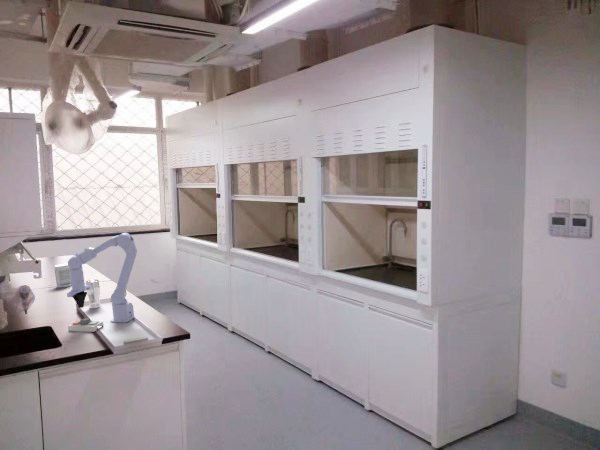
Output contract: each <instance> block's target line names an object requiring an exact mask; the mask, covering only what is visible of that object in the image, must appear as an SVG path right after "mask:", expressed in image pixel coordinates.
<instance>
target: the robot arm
mask: <svg viewBox="0 0 600 450" xmlns="http://www.w3.org/2000/svg"><path fill="white" fill-rule="evenodd" d="M118 246H119V247H120V248H121V249H123V251H124V252H125V254H126V255H125V258H124V262H123V265H122V268H121V271H120V274H119V278H118V280H117V284H116V286H115V289H114V290H113V293H112V294H111V296H110V300H111V307H112V316H113V317H112V318H113V319H111V320H110V321H109V322H110V323H112V322H113V323H127V322H130V321H131V320H133V319H135V318H136V316H135V313H134V312H135V311H134V305H133V303H132V302H128V299H127V298H126V296H127V287H128V283H129V279H130V276H131V273H132V269H133V266H134V265H135V264H134V263H135V260H136V256H137V254H138V250H137V246H136V244H135V240H134V237H133V236H132V235H131V234H130V233H128V232H122V233H120V234H118V235H115V236H113V237H110V238H109V239H107V240H105V241H103V242H102V243H101V244H99V245H97V246H95V247H85V248H84V250H83V251H81V252H79V253H78V252H77V253H76V254H75V255H74V256H72V257H71V258H69V259H68V261H67V264H68V266H69V267H70V275H71V283H72V285H71V289H70V291H69V292H67V293H66V297H67V298H73V300H74V301H75V303H76V305H77V308H78V309H80V308H81V309H82V308H84V307H85V299H86V297H87V296H88V295H87V291H86V290H89V289H90V285H86V283H85V277H84V270H83V265H85V264H87V263H89V262H91V261H92V260H94V259H96V258H97V255H98V254H99V253H101V252H103V251H104V250H106V249H108V248H110V247H118Z"/></svg>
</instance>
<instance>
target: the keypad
mask: <svg viewBox="0 0 600 450" xmlns="http://www.w3.org/2000/svg"><path fill="white" fill-rule="evenodd" d="M91 322H92V321H91V320H90V323H91ZM97 322H98V324H96V325H89V324H88V325H81V324H79V325H73V324H72V323H71V324H69V325H67V330H68V332H89V333H90V332H91V333H92V332H96V331H97V330H96V329H97V326H102V325H103V326H104V322H103V321H97Z"/></svg>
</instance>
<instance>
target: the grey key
mask: <svg viewBox="0 0 600 450" xmlns="http://www.w3.org/2000/svg"><path fill="white" fill-rule="evenodd" d="M90 319H91V318H86V317H84V318H82V319H80V320H79V321H80V324H81V325H88V324H89V323H90V321H91V320H90Z"/></svg>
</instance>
